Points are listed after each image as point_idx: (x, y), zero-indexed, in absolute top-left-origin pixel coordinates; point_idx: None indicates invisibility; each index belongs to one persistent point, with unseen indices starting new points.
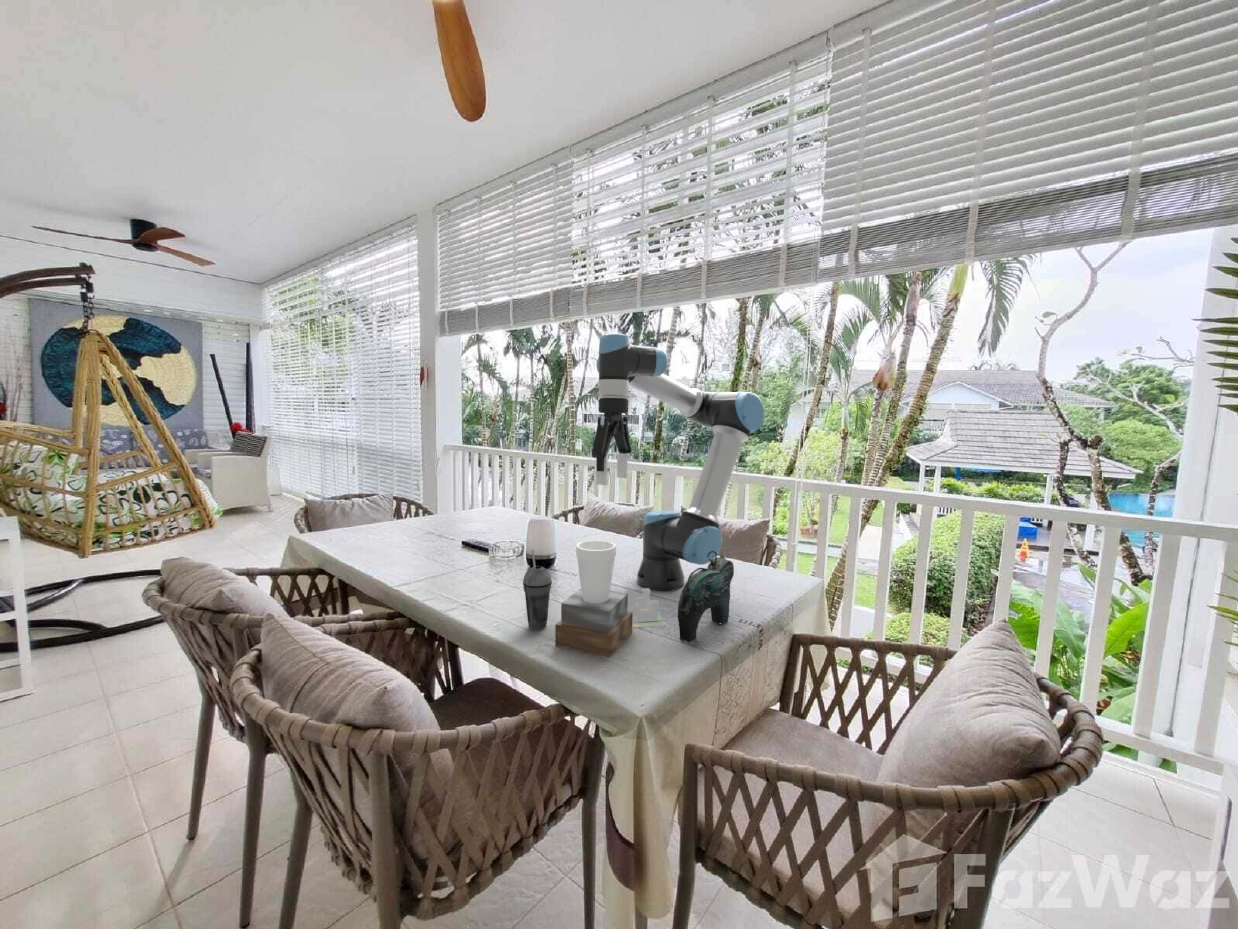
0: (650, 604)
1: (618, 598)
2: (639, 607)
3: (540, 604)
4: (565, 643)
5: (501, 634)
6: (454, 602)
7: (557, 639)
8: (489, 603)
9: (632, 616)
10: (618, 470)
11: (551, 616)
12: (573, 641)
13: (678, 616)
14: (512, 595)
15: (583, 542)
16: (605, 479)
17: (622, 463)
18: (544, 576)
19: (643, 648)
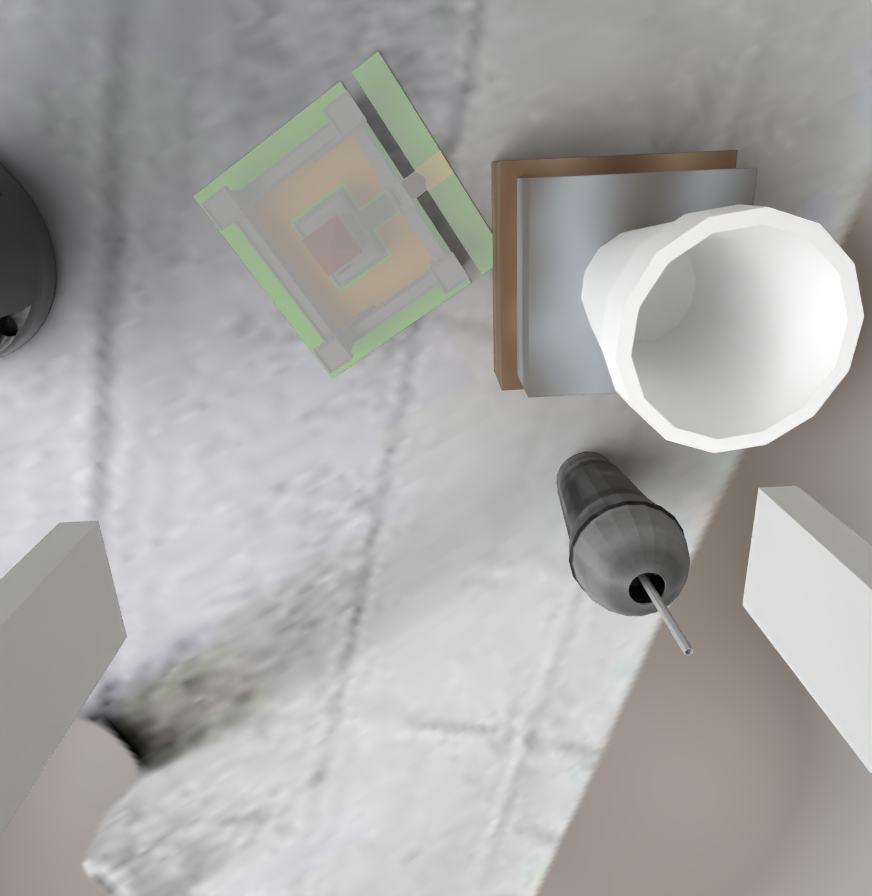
0: (347, 135)
1: (603, 192)
2: (339, 196)
3: (639, 491)
4: None
5: None
6: (529, 772)
7: None
8: (491, 692)
9: (498, 161)
10: (80, 682)
11: (496, 481)
12: None
13: None
14: (401, 674)
15: (699, 433)
16: (836, 526)
17: (1, 711)
18: (661, 532)
19: (604, 63)
